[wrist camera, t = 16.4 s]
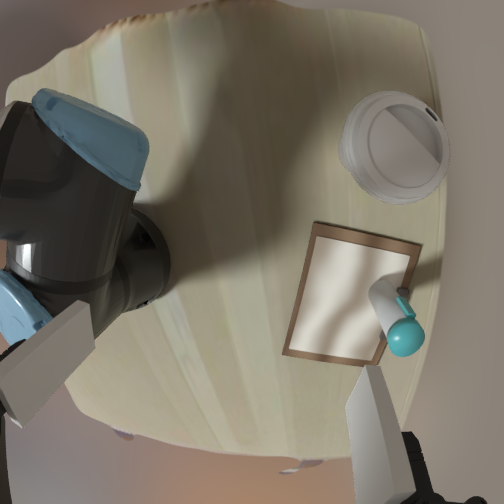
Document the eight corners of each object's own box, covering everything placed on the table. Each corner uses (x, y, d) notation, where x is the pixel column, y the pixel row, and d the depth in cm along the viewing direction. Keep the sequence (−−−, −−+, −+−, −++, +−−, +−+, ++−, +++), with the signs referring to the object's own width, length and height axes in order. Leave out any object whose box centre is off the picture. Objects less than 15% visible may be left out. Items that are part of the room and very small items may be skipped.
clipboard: (282, 352, 43) (281, 358, 41) (313, 221, 36) (314, 224, 35) (374, 365, 41) (376, 372, 40) (419, 245, 35) (423, 248, 34)
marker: (361, 298, 38) (383, 353, 26) (372, 270, 36) (401, 318, 24) (385, 304, 37) (414, 359, 25) (397, 277, 36) (432, 325, 24)
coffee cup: (410, 170, 33) (473, 179, 18) (347, 202, 35) (381, 229, 21) (376, 102, 31) (423, 70, 16) (311, 133, 33) (322, 113, 19)
